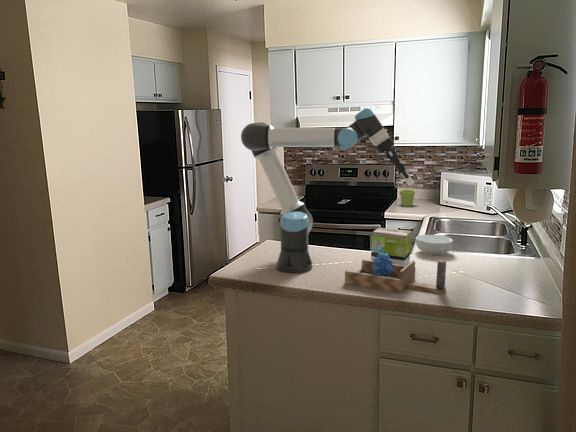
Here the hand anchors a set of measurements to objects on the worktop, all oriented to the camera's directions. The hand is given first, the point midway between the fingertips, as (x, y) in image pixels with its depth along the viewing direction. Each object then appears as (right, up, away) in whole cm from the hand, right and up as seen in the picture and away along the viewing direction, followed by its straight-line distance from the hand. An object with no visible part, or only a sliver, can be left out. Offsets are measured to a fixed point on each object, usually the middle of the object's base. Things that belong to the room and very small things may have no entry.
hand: (410, 182), depth 207 cm
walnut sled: (-10, -40, -20) cm, 46 cm away
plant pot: (+34, -7, +148) cm, 152 cm away
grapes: (-15, -40, -17) cm, 46 cm away
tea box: (-7, -35, +8) cm, 37 cm away
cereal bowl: (+17, -32, +25) cm, 44 cm away
